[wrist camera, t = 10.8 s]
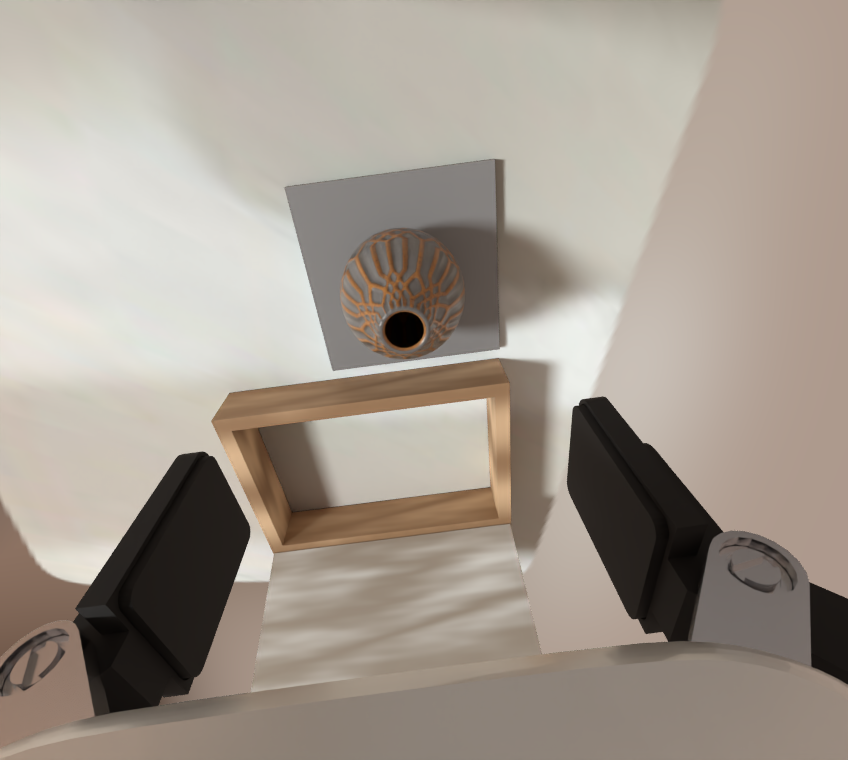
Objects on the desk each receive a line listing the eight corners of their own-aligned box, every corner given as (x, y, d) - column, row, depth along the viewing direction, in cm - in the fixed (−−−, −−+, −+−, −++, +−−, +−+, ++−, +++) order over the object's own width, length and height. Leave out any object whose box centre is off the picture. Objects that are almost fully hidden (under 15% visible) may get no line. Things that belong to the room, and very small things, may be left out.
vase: (471, 236, 25) (502, 278, 18) (437, 336, 29) (452, 407, 21) (360, 203, 24) (343, 233, 16) (338, 311, 27) (316, 378, 20)
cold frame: (229, 392, 30) (72, 632, 16) (498, 358, 30) (595, 566, 16) (299, 557, 40) (243, 800, 25) (502, 532, 40) (564, 761, 25)
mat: (286, 186, 24) (284, 187, 23) (493, 158, 24) (494, 159, 23) (333, 367, 30) (332, 370, 29) (498, 346, 30) (499, 349, 29)
